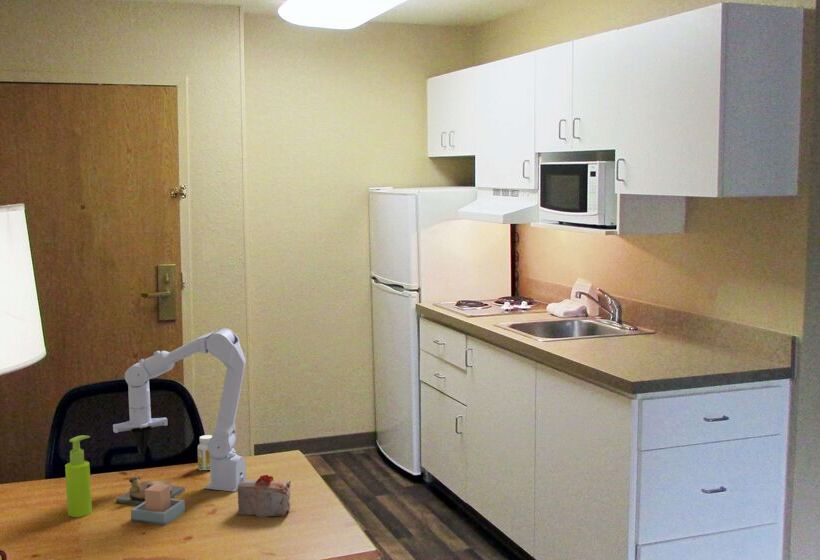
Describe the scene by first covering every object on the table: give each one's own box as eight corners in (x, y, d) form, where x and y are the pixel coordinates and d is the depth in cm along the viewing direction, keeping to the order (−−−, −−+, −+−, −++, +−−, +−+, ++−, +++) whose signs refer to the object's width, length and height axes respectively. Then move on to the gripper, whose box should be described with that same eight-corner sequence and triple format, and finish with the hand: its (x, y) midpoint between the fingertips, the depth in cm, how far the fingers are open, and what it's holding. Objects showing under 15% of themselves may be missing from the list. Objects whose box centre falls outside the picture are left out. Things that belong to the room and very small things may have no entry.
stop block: (170, 511, 231) (169, 485, 230) (161, 518, 227) (160, 491, 226) (155, 510, 232) (154, 484, 232) (145, 516, 228) (144, 490, 227)
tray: (185, 511, 233) (184, 500, 233) (164, 525, 224) (164, 513, 223) (152, 507, 236) (152, 496, 235) (131, 521, 227) (130, 509, 226)
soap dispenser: (99, 509, 235) (96, 435, 233) (80, 518, 229) (75, 442, 226) (82, 506, 237) (78, 432, 235) (62, 515, 231) (58, 439, 229)
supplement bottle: (219, 465, 269) (218, 434, 268) (213, 471, 264) (212, 439, 263) (201, 465, 270) (200, 434, 269) (195, 471, 264) (194, 439, 263)
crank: (158, 482, 252) (157, 464, 251) (179, 491, 244) (178, 472, 243) (119, 493, 243) (118, 474, 243) (140, 502, 236) (140, 483, 235)
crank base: (184, 490, 248) (184, 486, 248) (158, 507, 236) (158, 503, 236) (144, 486, 252) (143, 482, 252) (116, 502, 240) (115, 498, 240)
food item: (294, 507, 235) (293, 471, 234) (288, 519, 227) (287, 481, 226) (243, 506, 236) (242, 470, 235) (235, 518, 228) (234, 481, 227)
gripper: (115, 413, 243) (118, 461, 245) (169, 406, 250) (171, 453, 251) (110, 407, 249) (113, 454, 251) (163, 400, 256) (165, 446, 258)
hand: (142, 453), depth 251 cm, fingers closed
